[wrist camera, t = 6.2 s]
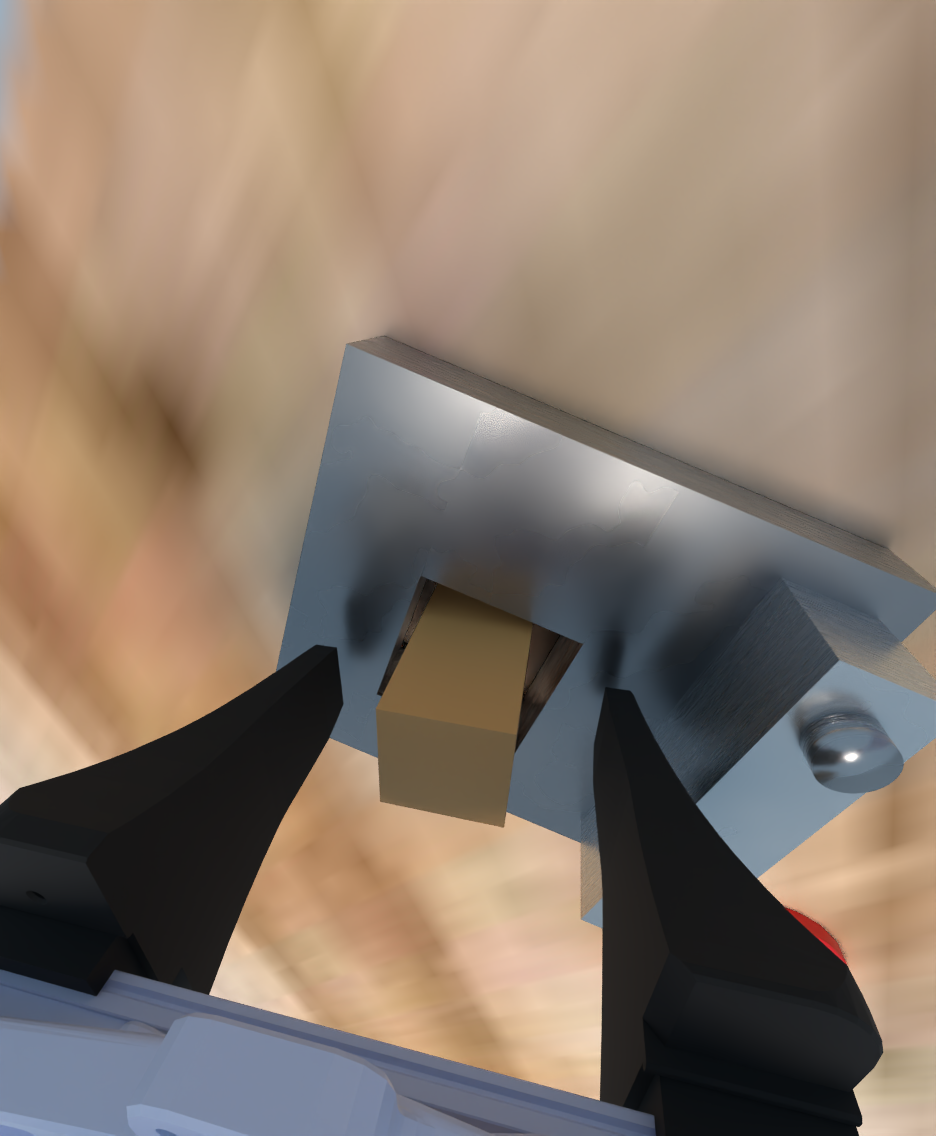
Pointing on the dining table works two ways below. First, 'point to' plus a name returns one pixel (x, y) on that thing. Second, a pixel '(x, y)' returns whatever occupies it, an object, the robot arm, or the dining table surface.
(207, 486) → the dining table surface
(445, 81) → the dining table surface
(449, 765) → the tan rectangular block
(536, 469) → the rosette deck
